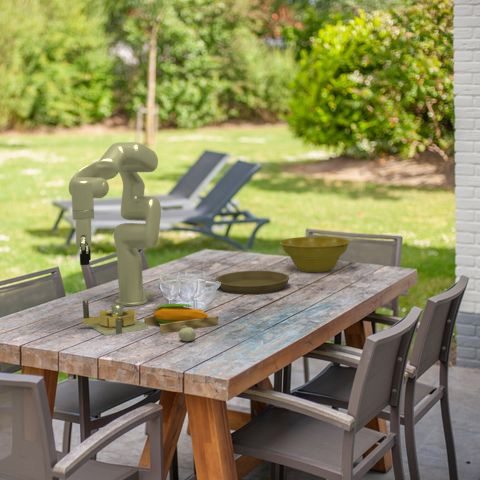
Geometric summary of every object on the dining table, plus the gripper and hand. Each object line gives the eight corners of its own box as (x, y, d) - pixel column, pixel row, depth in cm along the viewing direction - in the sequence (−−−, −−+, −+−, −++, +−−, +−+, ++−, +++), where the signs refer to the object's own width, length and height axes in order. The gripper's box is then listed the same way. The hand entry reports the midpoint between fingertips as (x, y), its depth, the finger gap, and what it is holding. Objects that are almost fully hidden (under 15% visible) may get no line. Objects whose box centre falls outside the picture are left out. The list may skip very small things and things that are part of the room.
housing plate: (130, 320, 351) (129, 298, 350) (148, 329, 337) (148, 306, 335) (88, 326, 343) (87, 304, 342) (105, 335, 329) (104, 312, 328)
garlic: (175, 341, 319) (174, 326, 318) (184, 338, 323) (184, 322, 322) (190, 343, 316) (189, 328, 315) (199, 340, 320) (198, 324, 319)
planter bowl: (304, 261, 462) (303, 234, 460) (363, 267, 443) (363, 238, 441) (266, 272, 436) (265, 243, 434) (327, 279, 418) (327, 248, 416)
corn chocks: (199, 317, 353) (199, 309, 352) (218, 324, 340) (218, 316, 340) (144, 325, 342) (144, 317, 342) (161, 333, 330) (161, 325, 329)
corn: (157, 299, 346) (210, 301, 341) (158, 320, 347) (211, 322, 343) (150, 305, 339) (204, 307, 334) (151, 326, 340) (205, 328, 336)
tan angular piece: (137, 318, 346) (136, 296, 345) (133, 326, 334) (132, 303, 333) (86, 319, 346) (85, 297, 345) (80, 327, 334) (79, 304, 333)
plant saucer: (249, 299, 383) (249, 287, 382) (200, 288, 406) (200, 278, 405) (304, 287, 403) (304, 276, 402) (255, 278, 426) (254, 267, 425)
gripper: (74, 212, 348) (76, 259, 350) (70, 218, 331) (73, 267, 333) (95, 211, 349) (97, 258, 351) (92, 217, 332) (95, 266, 334)
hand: (85, 262), depth 342 cm, fingers open, 9 cm apart
